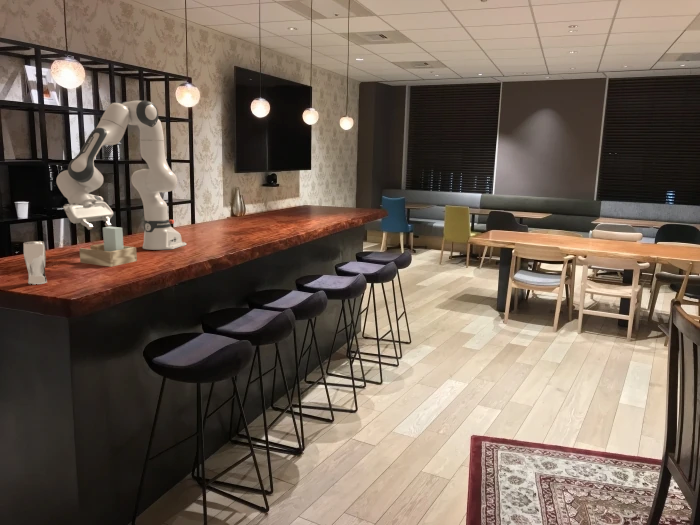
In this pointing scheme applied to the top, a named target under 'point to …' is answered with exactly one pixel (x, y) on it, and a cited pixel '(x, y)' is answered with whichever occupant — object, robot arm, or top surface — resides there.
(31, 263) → the beer glass
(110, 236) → the pale green block
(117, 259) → the tray
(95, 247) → the offcut short
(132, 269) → the top surface
